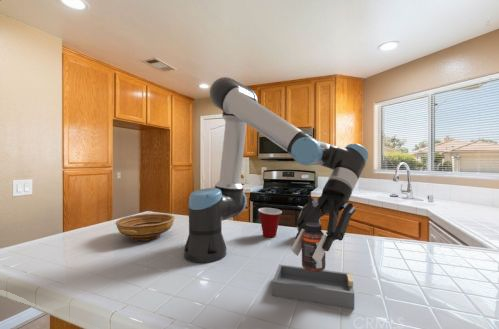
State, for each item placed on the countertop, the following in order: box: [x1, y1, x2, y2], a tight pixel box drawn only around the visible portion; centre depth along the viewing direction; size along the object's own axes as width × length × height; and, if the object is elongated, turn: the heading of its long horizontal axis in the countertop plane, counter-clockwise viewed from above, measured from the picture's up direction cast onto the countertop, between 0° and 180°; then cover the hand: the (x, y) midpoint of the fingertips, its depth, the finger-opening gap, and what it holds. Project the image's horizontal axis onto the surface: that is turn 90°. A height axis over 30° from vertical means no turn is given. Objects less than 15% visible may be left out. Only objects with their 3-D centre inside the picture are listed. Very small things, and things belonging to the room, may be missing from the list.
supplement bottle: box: [301, 223, 326, 272], centre depth 62 cm, size 6×6×11 cm
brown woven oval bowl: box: [115, 213, 176, 241], centre depth 107 cm, size 30×24×8 cm
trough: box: [272, 264, 355, 310], centre depth 62 cm, size 19×10×5 cm, turn 73°
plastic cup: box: [258, 207, 283, 239], centre depth 108 cm, size 11×11×12 cm
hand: (304, 256), depth 60 cm, fingers closed on supplement bottle, 6 cm apart
